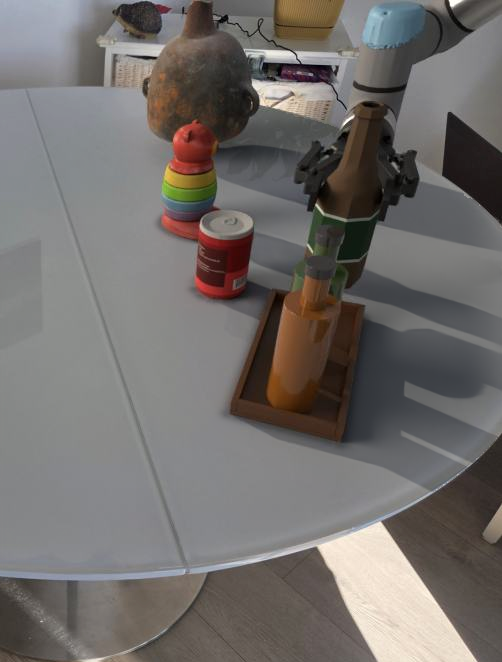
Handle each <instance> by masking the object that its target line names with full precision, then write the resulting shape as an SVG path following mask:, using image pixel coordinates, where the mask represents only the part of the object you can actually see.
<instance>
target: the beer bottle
mask: <svg viewBox="0 0 502 662" xmlns="http://www.w3.org/2000/svg"><path fill="white" fill-rule="evenodd" d="M353 113H354V115H355V117H354V120H353V123H352V127H351V130H350V134H349V137H348V140H347V144H346V147H345V151H344V154H343V157H342V159H341V162H340V164H339V166H338V168H337V169H336V170H335V171H334V172H333V173H332V174H331V175H330V176H329V177H328V178H327V179H326V181H324V182H323V183H322V186H321V188H320V191H319V196H318V199H317V202H316V205H315V208H314V210H313V214H312V219H311V224H310V229H309V234H308V238H307V243H306V247H305V253H304V257H303V260H305V259H308V258H309V257H311V256H312V254H313V250H314V245H315V241H314V236H315V231H316V228H317V227H319V226H321V225H334V226H338V227H340V228H342V229H343V230H344V231H345V235H344V239H343V243H342V244H341V245H340V247H339V251H338V255H337V259H336V262H337V263H339V264H341V265H342V266H344V267H345V268H346V270H347V271H348V278H347V282H346V286H345V289H344V290H350V289H351V288H352V287H353V286H354V285H355V284H356V283H357V282H358V281H359V280H360V279H361V277H362V274H363V272H364V269H365V266H366V262H367V258H368V255H369V251H370V248H371V245H372V242H373V241H372V240H373V237H374V233H375V231H376V227H377V223H378V221H377V219H378V214H379V209H380V204H381V200H382V196H383V188H382V184H381V182H380V179H379V177H378V175H377V173H376V171H375V170H376V157H377V151H378V146H379V141H380V136H381V130H382V125H383V120H384V117H385V116H386V115H387V114H388V107H387V106H386V105H385V104H383V103H382V102H377V101H364V102H360V103H359V104H357V105H356V107H355V109H354V111H353Z"/></svg>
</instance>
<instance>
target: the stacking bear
mask: <svg viewBox="0 0 502 662" xmlns="http://www.w3.org/2000/svg"><path fill="white" fill-rule="evenodd" d="M218 149H219V143H218V141H217V139H216V138H215V137H214V135H213V134H212V133H211V131H210V130H209V128H208V127H206V126H204V125H202V124H199V120H194V121H193V122H192V124H188V125H185V126H183V127H181V128H180V129H179V130H178V131H177V132H176V133H175V135H174V138H173V143H172V150H173V153H174V157H173V158H172V159H171V160H170V162H169V163H168V164H167V166H166V169H165V172H164V177H163V178H162V179H163V180H162V184H161V198H162V203H163V209H164V212H163V214H162V216H161V224H162V226H163V227H164V228H165V229H166V230H168V231H169V232H171V233H172V234H175V235H177V236H179V237H183V238H187V239H191V240H197V241H198V238H199V228H200V221H201V219H202V217H203V216H205V215H206V214H208V213H210V212H214V211H219V210H222V209H221V208H219V207H218V206H215V205H214V204H215V201H216V198H217V193H218V192H217V191H218V180H217V179H218V178H217V172H216V167H215V162H214V159H212V157H213V156H214V155H215V154H216V153H217V151H218Z"/></svg>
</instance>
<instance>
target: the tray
mask: <svg viewBox="0 0 502 662" xmlns="http://www.w3.org/2000/svg"><path fill="white" fill-rule="evenodd" d="M289 293H290V290H284V289H279V288H278V289H277V288H273V287H272V288H271V289H270V291H269V295H268V298H267V300H266V303H265V306H264V308H263V311H262V314H261V318H260V320H259V322H258V325H257V328H256V331H255V334H254V336H253V339H252V341H251V342H252V343H251V344H250V348H249V349H248V353H247V356H246V359H245V361H244V363H243V367H242V370H241V372H240V375H239V377H238V381H237V383H236V386H235V388H234V391H233V394H232V398H231V400H230V405H229V411H228V412H229V414H230V415H234V416H238V417H241V418H245V419H249V420H254V421H258V422H260V423H264V424H268V425H273V426H277V427H280V428H285V429H288V430H292V431H296V432H300V433H302V434H303V433H304V434H308V435H312V436H316V437H318V438H323V439H326V440H329V441H334V442H338V443H341V442H342V439H343V436H344V433H345V429H346V425H347V424H346V423H347V418H348V411H349V406H350V400H351V393H352V388H353V381H354V375H355V369H356V364H357V357H358V352H359V351H358V350H359V345H360V339H361V334H362V328H363V320H364V316H365V309H366V304H363V303H358V302H352V301H346V300H342V301H341V311H340V315H339V319H338V322H337V326H336V330H335V334H334V338H333V341H332V345H331V349H330V353H329V356H328V360H327V364H326V368H325V372H324V375H323V379H322V383H321V387H320V390H319V394H318V398H317V402H316V405H315V407H314V408H313V409H312V410H311V411H309V412H307V413H303V414H298V413H294V412H290V411H286V410H282V409H278V408H274V407H273V406H272V405H271V404H270V403H269V402H268V400H267V397H266V391H267V386H268V381H269V376H270V370H271V365H272V360H273V355H274V350H275V345H276V339H277V334H278V329H279V324H280V319H281V314H282V308H283V303H284V299H285V297H286V296H287V295H288V294H289Z"/></svg>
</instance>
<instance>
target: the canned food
mask: <svg viewBox="0 0 502 662" xmlns="http://www.w3.org/2000/svg"><path fill="white" fill-rule="evenodd" d="M254 233H255V221H254V219H253V217H251V216H250V215H248V214H247V213H245V212H242V211H239V210H233V209H221V210H219V211H214V212H210V213H208V214H206V215H205V216H203V217H202V219H201V221H200V228H199V238H198V240H197V253H196V265H195V266H196V267H195V277H194V283H195V286H196V289H197V290H198V292H199V293H201V294H202V295H204V296H206V297H207V298H211V299H215V300H228V299H232V298H235V297H237V296H239V295H240V294H241V293H242V292H243V291H244V290H245V288H246V285H247V280H248V274H249V267H250V262H251V261H250V260H251V254H252V248H253V240H254V235H255V234H254Z"/></svg>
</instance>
